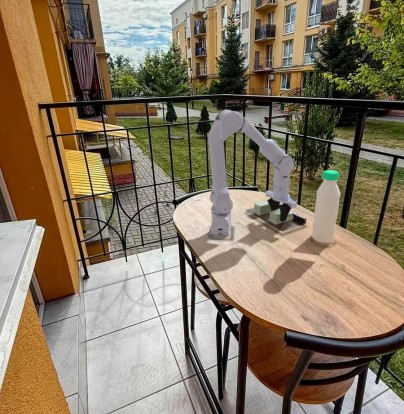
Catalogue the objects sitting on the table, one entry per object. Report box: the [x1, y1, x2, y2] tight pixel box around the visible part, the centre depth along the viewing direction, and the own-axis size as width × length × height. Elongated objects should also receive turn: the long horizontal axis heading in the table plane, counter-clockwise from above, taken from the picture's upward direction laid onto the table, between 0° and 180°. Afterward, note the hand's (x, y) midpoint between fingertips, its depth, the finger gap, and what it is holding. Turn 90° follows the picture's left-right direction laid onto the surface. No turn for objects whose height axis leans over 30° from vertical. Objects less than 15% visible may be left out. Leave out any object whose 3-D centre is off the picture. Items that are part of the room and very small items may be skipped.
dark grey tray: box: [245, 207, 307, 232], centre depth 112 cm, size 12×22×4 cm, turn 28°
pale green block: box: [269, 209, 293, 225], centre depth 108 cm, size 9×4×4 cm, turn 118°
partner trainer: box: [253, 199, 271, 216], centre depth 116 cm, size 9×4×4 cm, turn 118°
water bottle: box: [311, 169, 341, 245], centre depth 92 cm, size 7×7×25 cm
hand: (279, 218), depth 108 cm, fingers closed on pale green block, 4 cm apart
